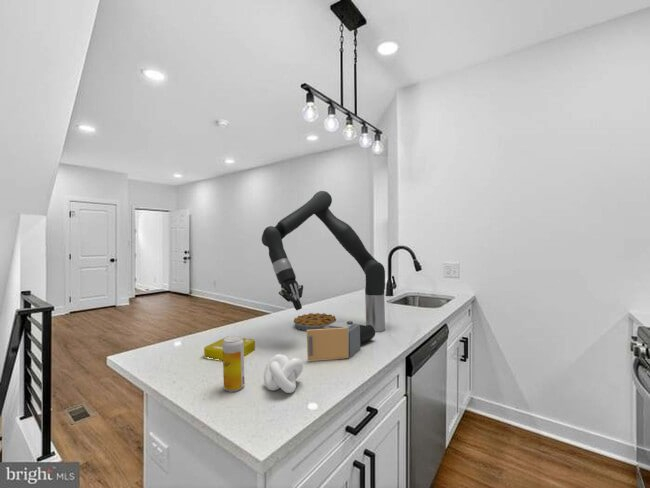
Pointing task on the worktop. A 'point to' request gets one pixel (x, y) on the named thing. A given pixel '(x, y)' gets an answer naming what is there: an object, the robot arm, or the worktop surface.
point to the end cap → (366, 333)
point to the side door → (328, 343)
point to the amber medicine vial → (233, 363)
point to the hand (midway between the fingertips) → (299, 309)
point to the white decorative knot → (282, 373)
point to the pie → (313, 321)
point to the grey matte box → (353, 334)
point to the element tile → (217, 348)
